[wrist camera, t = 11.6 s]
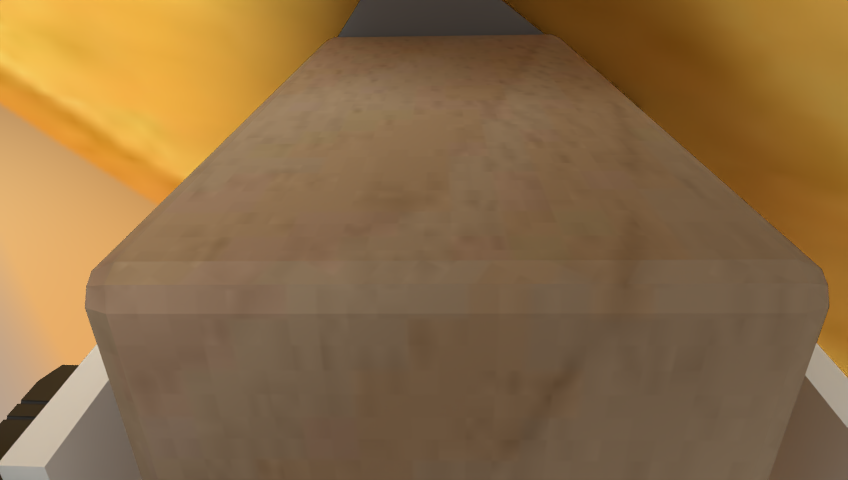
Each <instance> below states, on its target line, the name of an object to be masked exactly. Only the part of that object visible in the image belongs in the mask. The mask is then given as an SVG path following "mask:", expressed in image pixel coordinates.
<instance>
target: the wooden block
mask: <svg viewBox="0 0 848 480" xmlns="http://www.w3.org/2000/svg"><path fill="white" fill-rule="evenodd" d="M85 309H86V312H87V315H88V318H89V321H90V324H91V327H92V330H93V333H94V336H95V339H96V342H97V345H98V348H99V351H100V354H101V357H102V360H103V363H104V366H105V369H106V372H107V375H108V378H109V381H110V384H111V388H112V391H113V394H114V397H115V400H116V403H117V406H118V409H119V412H120V415H121V418H122V421H123V424H124V427H125V430H126V433H127V436H128V439H129V442H130V445H131V448H132V451H133V454H134V457H135V460H136V463H137V466H138V469H139V472H140V475H141V478H142V480H768V478H769V475H770V472H771V470H772V467H773V464H774V461H775V458H776V456H777V453H778V450H779V447H780V444H781V441H782V439H783V436H784V433H785V430H786V427H787V424H788V422H789V419H790V416H791V413H792V410H793V408H794V405H795V402H796V399H797V396H798V393H799V391H800V388H801V385H802V382H803V379H804V376H805V374H806V371H807V368H808V365H809V362H810V360H811V357H812V354H813V351H814V348H815V345H816V343H817V340H818V337H819V334H820V331H821V329H822V326H823V323H824V320H825V317H826V314H827V312H828V309H829V296H828V284H827V282H826V279H825V277H824V274H823V272H822V269H821V268H820V267H819V266H818V265H816V264H815V263H814V262H813V261H812V260H811V259H810V258H808V257H807V256H806V255H805V254H804V253H803V252H802V251H801V250H799V249H798V248H797V247H796V246H795V245H794V244H793V243H791V242H790V241H789V240H788V239H787V238H786V237H785V236H784V235H782V234H781V233H780V232H779V231H778V230H777V229H776V228H774V227H773V226H772V225H771V224H770V223H769V222H768V221H767V220H765V219H764V218H763V217H762V216H761V215H760V214H759V213H757V212H756V211H755V210H754V209H753V208H752V207H751V206H750V205H748V204H747V203H746V202H745V201H744V200H743V199H742V198H740V197H739V196H738V195H737V194H736V193H735V192H734V191H733V190H731V189H730V188H729V187H728V186H727V185H726V184H725V183H723V182H722V181H721V180H720V179H719V178H718V177H717V176H716V175H714V174H713V173H712V172H711V171H710V170H709V169H708V168H706V167H705V166H704V165H703V164H702V163H701V162H700V161H699V160H697V159H696V158H695V157H694V156H693V155H692V154H691V153H689V152H688V151H687V150H686V149H685V148H684V147H683V146H682V145H680V144H679V143H678V142H677V141H676V140H675V139H674V138H672V137H671V136H670V135H669V134H668V133H667V132H666V131H665V130H663V129H662V128H661V127H660V126H659V125H658V124H657V123H655V122H654V121H653V120H652V119H651V118H650V117H649V116H648V115H646V114H645V113H644V112H643V111H642V110H641V109H640V108H638V107H637V106H636V105H635V104H634V103H633V102H632V101H631V100H629V99H628V98H627V97H626V96H625V95H624V94H623V93H621V92H620V91H619V90H618V89H617V88H616V87H615V86H614V85H612V84H611V83H610V82H609V81H608V80H607V79H606V78H604V77H603V76H602V75H601V74H600V73H599V72H598V71H597V70H595V69H594V68H593V67H592V66H591V65H590V64H589V63H587V62H586V61H585V60H584V59H583V58H582V57H581V56H580V55H578V54H577V53H576V52H575V51H574V50H573V49H572V48H570V47H569V46H568V45H567V44H566V43H565V42H564V41H563V40H561V39H560V38H559V37H556V36H554V35H552V34H546V35H471V36H396V37H334V38H332V39H330V40H327V41H326V42H325V43H324V44H323V45H322V46H321V47H320V48H319V49H318V50H317V51H316V52H315V53H314V54H313V55H312V56H311V57H309V58H308V59H307V60H306V61H305V62H304V63H303V64H302V65H301V66H300V67H299V68H298V69H297V70H296V71H295V72H294V73H293V74H292V75H291V76H290V77H289V78H288V79H287V80H286V81H285V82H284V83H283V84H282V85H281V86H280V87H279V88H278V89H277V90H276V91H275V92H274V93H273V94H272V95H271V96H270V97H269V98H268V99H267V100H266V101H265V102H264V103H263V104H262V105H261V106H259V107H258V108H257V109H256V110H255V111H254V112H253V113H252V114H251V115H250V116H249V117H248V118H247V119H246V120H245V121H244V122H243V123H242V124H241V125H240V126H239V127H238V128H237V129H236V130H235V131H234V132H233V133H232V134H231V135H230V136H229V137H228V138H227V139H226V140H225V141H224V142H223V143H222V144H221V145H220V146H219V147H218V148H217V149H216V150H215V151H214V152H213V153H212V154H211V155H210V156H208V157H207V158H206V159H205V160H204V161H203V162H202V163H201V164H200V165H199V166H198V167H197V168H196V169H195V170H194V171H193V172H192V173H191V174H190V175H189V176H188V177H187V178H186V179H185V180H184V181H183V182H182V183H181V184H180V185H179V186H178V187H177V188H176V189H175V190H174V191H173V192H172V193H171V194H170V195H169V196H168V197H167V198H166V199H165V200H164V201H163V202H162V203H161V204H160V205H159V206H157V207H156V208H155V209H154V210H153V211H152V212H151V213H150V214H149V215H148V216H147V217H146V218H145V219H144V220H143V221H142V222H141V223H140V224H139V225H138V226H137V227H136V228H135V229H134V230H133V231H132V232H131V233H130V234H129V235H128V236H127V237H126V238H125V239H124V240H123V241H122V242H121V243H120V244H119V245H118V246H117V247H116V248H115V249H114V250H113V251H112V252H111V253H110V254H109V255H108V256H107V257H105V259H103V260H102V261H101V262H100V263H99V264H98V265H97V267H95V268H94V269H93V270H92V271H91V274H90V277H89V281H88V283H87V286H86V301H85Z"/></svg>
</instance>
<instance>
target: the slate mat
mask: <svg viewBox="0 0 848 480" xmlns="http://www.w3.org/2000/svg"><path fill="white" fill-rule="evenodd" d="M471 35H545V34H543V33H542V32H541V31H540V30H538V29H537V28H536V27H535V26H533V25H532V24H531V23H530V22H528V21H527V20H526V19H525V18H523V17H522V16H521V15H520V14H518V13H517V12H516V11H515V10H513V9H512V8H511V7H510V6H508V5H507V4H506V3H505V2H503V1H502V0H360V2H359V3H358V5H357V6H356V8H355V10H354V11H353V13H352V15H351V16H350V18H349V19H348V21H347V23H346V24H345V26H344V27H343V29H342V31H341V32H340V34H339V36H338V37H396V36H471Z"/></svg>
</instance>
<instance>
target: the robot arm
mask: <svg viewBox="0 0 848 480" xmlns="http://www.w3.org/2000/svg"><path fill="white" fill-rule="evenodd" d="M0 480H142V478H141V475H140V472H139V469H138V466H137V463H136V460H135V457H134V454H133V451H132V448H131V445H130V442H129V439H128V436H127V433H126V430H125V427H124V424H123V421H122V418H121V415H120V412H119V409H118V406H117V403H116V400H115V397H114V394H113V391H112V388H111V384H110V381H109V378H108V375H107V372H106V369H105V366H104V363H103V360H102V357H101V354H100V351H99V348H98V345H97V344H96V346H95V347H94V348H93V349H92V351H91V352H90V353H89V354H88V355H87V356H86V358H85V359H84V360H83V361H82V363H81V364H80V365H62V366H60V367H59V368H57V369H56V370H54V371H52V372H51V373H49V374H48V375H46V376H45V377H43V378H42V379H40V380H39V381H38V382H37V383H36V384H35V385H34V386H33V387H32V389H31V390H30V391H29V392H28V393H27V394H26V395H25V397H24V398H23V399H22V400H21V404H17V405H16V406H15V408H14V409H13V410H12V411H11V412H10V413H9V415H8V416H7V419H6V420H3V421H2V422H1V423H0ZM768 480H848V378H847V377H846V376H845V374H844V373H843V372H842V371H841V370H840V369H839V368H838V367H837V365H836V364H835V363H834V362H833V361H832V360H831V359H830V358H829V356H828V355H827V354H826V353H825V352H824V351H823V350H822V349H821V347H820V346H819V345H818V344H817V343H816V345H815V348H814V351H813V354H812V357H811V360H810V362H809V365H808V368H807V371H806V374H805V376H804V379H803V382H802V385H801V388H800V391H799V393H798V396H797V399H796V402H795V405H794V408H793V410H792V413H791V416H790V419H789V422H788V424H787V427H786V430H785V433H784V436H783V439H782V441H781V444H780V447H779V450H778V453H777V456H776V458H775V461H774V464H773V467H772V470H771V472H770V475H769V478H768Z"/></svg>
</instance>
